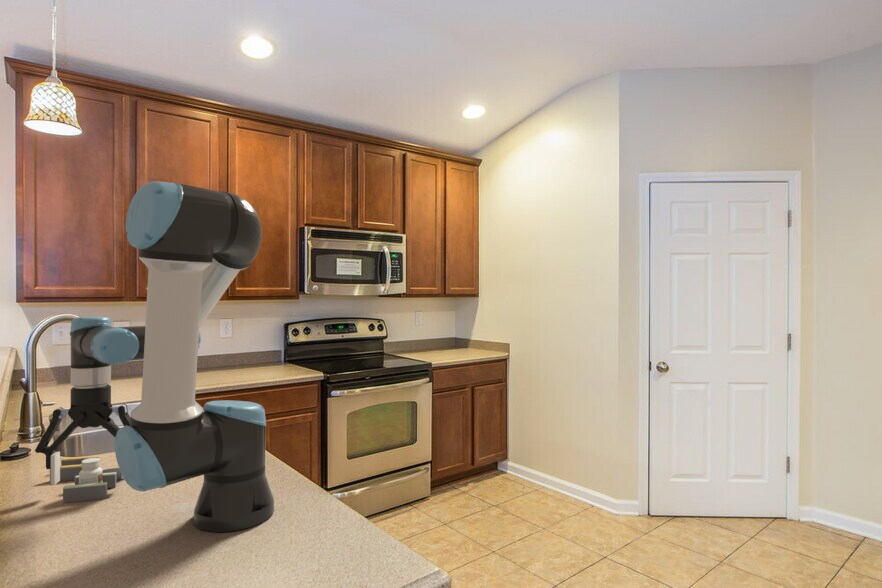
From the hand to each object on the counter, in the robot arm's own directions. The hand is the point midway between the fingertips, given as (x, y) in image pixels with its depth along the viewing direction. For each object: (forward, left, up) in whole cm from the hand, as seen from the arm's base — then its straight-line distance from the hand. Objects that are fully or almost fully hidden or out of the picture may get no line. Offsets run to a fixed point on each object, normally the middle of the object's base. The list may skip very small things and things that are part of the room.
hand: (90, 479), depth 115 cm
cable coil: (+9, -1, -3) cm, 10 cm away
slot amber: (+15, +8, -3) cm, 17 cm away
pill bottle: (0, 0, -3) cm, 3 cm away
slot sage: (0, 0, -3) cm, 3 cm away
